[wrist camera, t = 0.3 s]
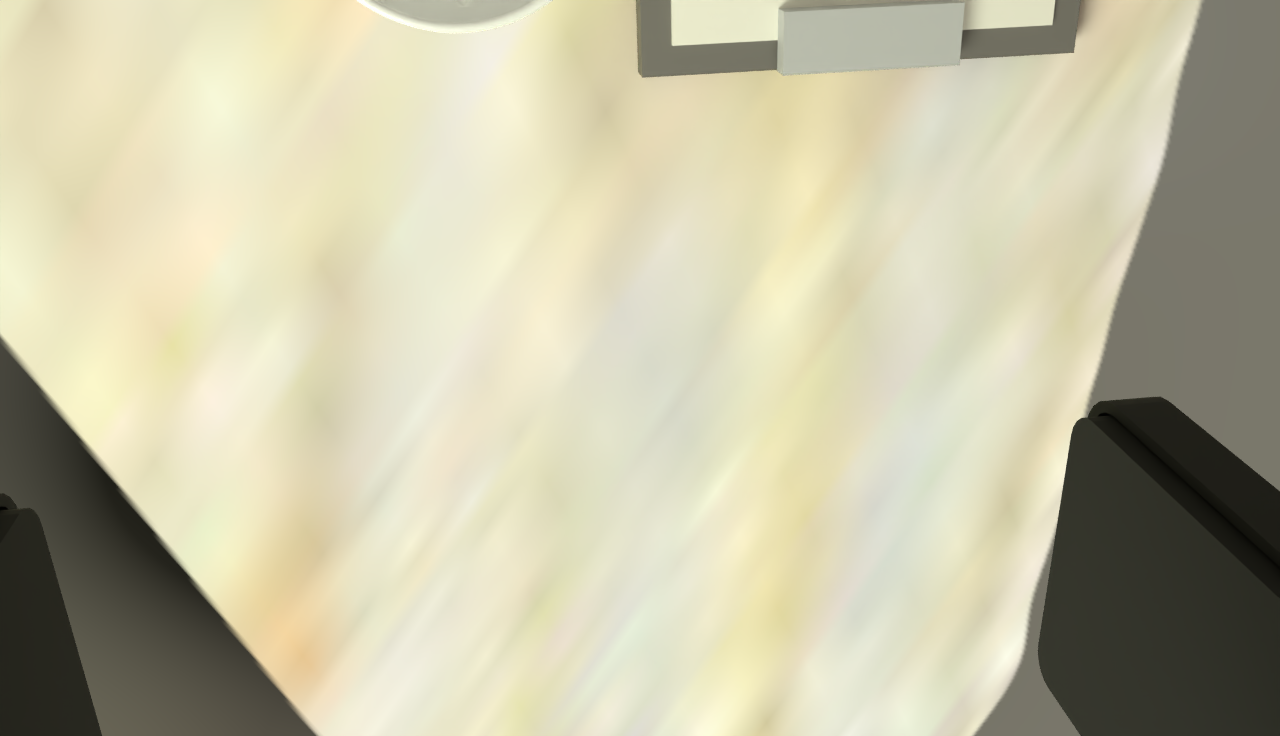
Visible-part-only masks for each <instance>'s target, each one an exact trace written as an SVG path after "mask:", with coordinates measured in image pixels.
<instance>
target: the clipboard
mask: <svg viewBox="0 0 1280 736" xmlns="http://www.w3.org/2000/svg"><path fill="white" fill-rule="evenodd" d="M1079 8H1080V0H636V12H637V45H638V72H639V74H640V75H641V76H642V78H643V77H660V76H678V75H695V74H712V73H730V72H747V71H764V70H777V71H778V72H779V73H780V74H782V75H800V74H817V73H835V72H852V71H869V70H886V69H903V68H920V67H938V66H955V65H959V64H960V59H972V58H990V57H1007V56H1024V55H1042V54H1059V53H1074V47H1075V39H1076V31H1077V24H1078V16H1079Z"/></svg>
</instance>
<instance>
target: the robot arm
mask: <svg viewBox="0 0 1280 736" xmlns="http://www.w3.org/2000/svg"><path fill="white" fill-rule="evenodd" d="M1038 657H1039V665H1040V669H1041V673H1042V675H1043V678H1044V681H1045V683H1046V684H1047V686H1048V688H1049V689H1050V691H1051V692H1052V694H1053V695H1054V697H1055V698H1056V700H1057V701H1058V703H1059V704H1060V706H1061V707H1062V709H1063V710H1064V712H1065V713H1066V715H1067V716H1068V718H1069V719H1070V720H1071V722H1072V723H1073V725H1074V726H1075V728H1076V729H1077V731H1078V732H1079V734H1080V735H1081V736H1280V491H1278V490H1277V489H1276V488H1275V487H1274V486H1272V485H1271V484H1270V483H1269V482H1267V481H1266V480H1265V479H1264V478H1262V477H1261V476H1260V475H1259V474H1258V473H1256V472H1255V471H1254V470H1253V469H1252V468H1250V467H1249V466H1248V465H1247V464H1245V463H1244V462H1243V461H1242V460H1240V459H1239V458H1238V457H1237V456H1235V455H1234V454H1233V453H1232V452H1231V451H1229V450H1228V449H1227V448H1226V447H1224V446H1223V445H1222V444H1221V443H1219V442H1218V441H1217V440H1216V439H1214V438H1213V437H1212V436H1211V435H1210V434H1208V433H1207V432H1206V431H1205V430H1204V429H1202V428H1201V427H1200V426H1199V425H1197V424H1196V423H1195V422H1194V421H1192V420H1191V419H1190V418H1189V417H1188V416H1186V415H1185V414H1184V413H1182V412H1181V411H1180V410H1179V409H1178V408H1176V407H1175V406H1174V405H1173V404H1172V403H1170V402H1169V401H1167V400H1165V399H1164V398H1161V397H1147V398H1136V399H1123V400H1111V401H1100V402H1098V403H1097V404H1096V405H1094V406H1093V408H1092V409H1091V411H1090V413H1089V415H1088V418H1081V419H1079V420H1078V421H1077V422H1076V424H1075V425H1074V427H1073V431H1072V434H1071V440H1070V446H1069V453H1068V459H1067V465H1066V472H1065V478H1064V485H1063V491H1062V497H1061V504H1060V510H1059V516H1058V523H1057V529H1056V536H1055V542H1054V548H1053V555H1052V562H1051V567H1050V574H1049V580H1048V587H1047V593H1046V599H1045V606H1044V612H1043V619H1042V625H1041V632H1040V638H1039V645H1038ZM0 736H102V734H101V730H100V727H99V723H98V720H97V716H96V713H95V709H94V706H93V703H92V699H91V695H90V692H89V688H88V685H87V681H86V678H85V674H84V671H83V667H82V664H81V660H80V657H79V654H78V650H77V647H76V643H75V640H74V636H73V633H72V629H71V626H70V622H69V619H68V615H67V612H66V608H65V605H64V601H63V598H62V594H61V591H60V588H59V584H58V580H57V577H56V573H55V570H54V566H53V563H52V559H51V556H50V552H49V549H48V545H47V542H46V538H45V535H44V531H43V528H42V525H41V522H40V519H39V517H38V515H37V514H36V513H35V512H34V510H32V509H30V508H23V509H17V506H16V504H15V503H14V502H13V500H12V499H11V498H10V497H9V496H7V495H5V494H0Z"/></svg>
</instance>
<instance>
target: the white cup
mask: <svg viewBox="0 0 1280 736" xmlns="http://www.w3.org/2000/svg"><path fill="white" fill-rule="evenodd" d="M357 1H358V2H360V3H361V4H363V5H364V6H366V7H367V8H369V9H371V10H373V11H374V12H376V13H378V14H380V15H382V16H384V17H386V18H388V19H391V20H393V21H396V22H398V23H401V24H404V25H407V26H410V27H414V28H418V29H422V30H427V31H433V32H442V33H471V32H480V31H486V30H491V29H495V28H499V27H502V26H505V25H508V24H511V23H514V22H516V21H519V20H521V19H523V18H525V17H527V16H529V15H531V14H533V13H535V12H536V11H538V10H540V9H541V8H543V7H544V6H546V5H547V4H549V3H550V2H551V1H553V0H357Z"/></svg>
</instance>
